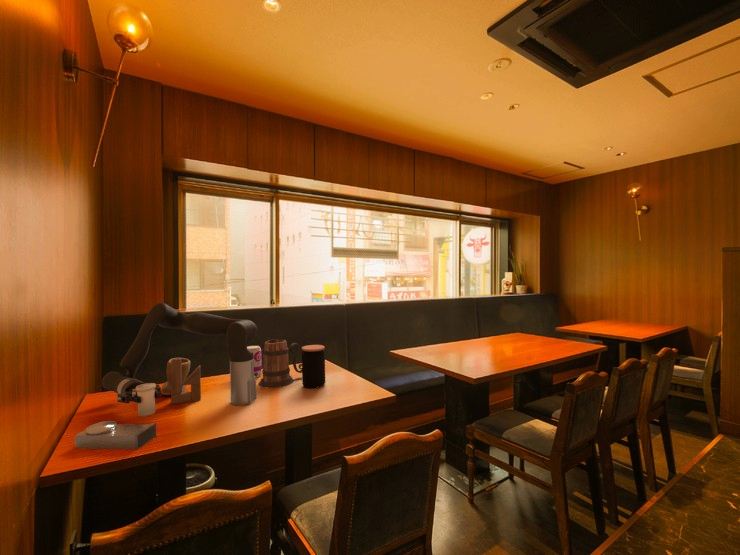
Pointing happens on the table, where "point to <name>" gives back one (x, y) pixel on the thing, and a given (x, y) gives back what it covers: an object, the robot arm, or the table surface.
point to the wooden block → (177, 384)
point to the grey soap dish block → (115, 436)
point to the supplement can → (256, 359)
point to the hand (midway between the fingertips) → (149, 397)
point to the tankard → (278, 364)
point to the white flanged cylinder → (146, 399)
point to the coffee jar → (313, 366)
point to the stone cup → (168, 385)
